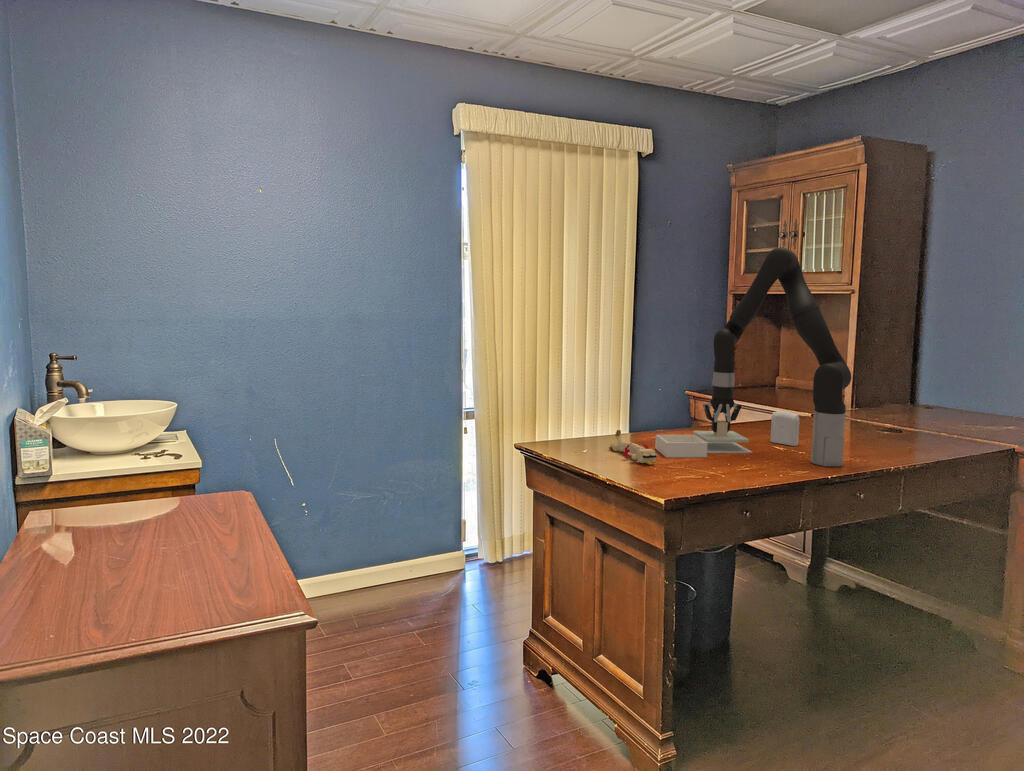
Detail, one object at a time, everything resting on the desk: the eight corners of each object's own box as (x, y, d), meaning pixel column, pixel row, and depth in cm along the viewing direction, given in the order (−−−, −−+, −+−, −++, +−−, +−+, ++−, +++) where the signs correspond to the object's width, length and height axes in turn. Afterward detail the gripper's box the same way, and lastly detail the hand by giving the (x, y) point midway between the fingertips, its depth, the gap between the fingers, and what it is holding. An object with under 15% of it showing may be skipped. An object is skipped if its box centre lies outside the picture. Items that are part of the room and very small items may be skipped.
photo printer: (768, 442, 266) (770, 409, 265) (774, 440, 269) (776, 408, 267) (793, 447, 258) (796, 413, 257) (799, 445, 261) (802, 412, 259)
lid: (748, 442, 248) (749, 425, 247) (706, 442, 247) (707, 425, 246) (732, 433, 262) (733, 417, 262) (693, 433, 261) (693, 417, 261)
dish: (706, 457, 239) (707, 442, 239) (666, 457, 238) (666, 442, 238) (693, 448, 253) (694, 434, 253) (655, 448, 252) (655, 434, 252)
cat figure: (603, 454, 248) (638, 465, 224) (603, 430, 247) (638, 438, 224) (628, 453, 251) (666, 463, 227) (628, 428, 251) (666, 436, 227)
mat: (752, 453, 247) (752, 452, 247) (704, 453, 246) (704, 452, 246) (733, 442, 264) (734, 441, 264) (689, 442, 263) (689, 441, 263)
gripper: (707, 385, 248) (704, 434, 250) (746, 386, 249) (743, 434, 251) (700, 383, 255) (697, 430, 257) (738, 383, 256) (735, 430, 258)
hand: (720, 431), depth 254 cm, fingers closed on lid, 3 cm apart
